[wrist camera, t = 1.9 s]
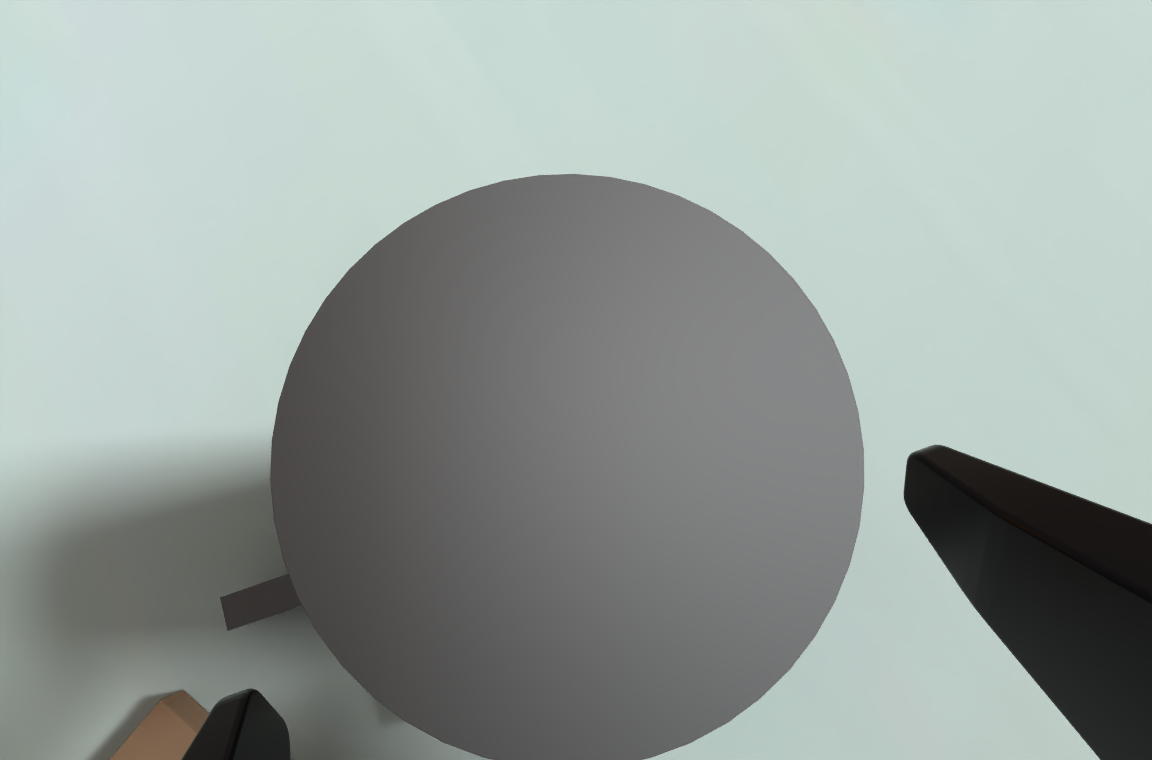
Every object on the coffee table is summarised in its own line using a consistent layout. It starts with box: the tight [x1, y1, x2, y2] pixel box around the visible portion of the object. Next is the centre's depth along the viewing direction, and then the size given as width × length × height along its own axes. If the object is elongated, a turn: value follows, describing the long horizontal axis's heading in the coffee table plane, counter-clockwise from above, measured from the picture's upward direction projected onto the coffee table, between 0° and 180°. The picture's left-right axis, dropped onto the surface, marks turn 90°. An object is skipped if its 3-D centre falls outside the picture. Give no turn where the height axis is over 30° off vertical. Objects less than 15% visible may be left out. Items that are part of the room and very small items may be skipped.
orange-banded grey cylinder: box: [270, 174, 864, 760], centre depth 12 cm, size 5×5×13 cm
